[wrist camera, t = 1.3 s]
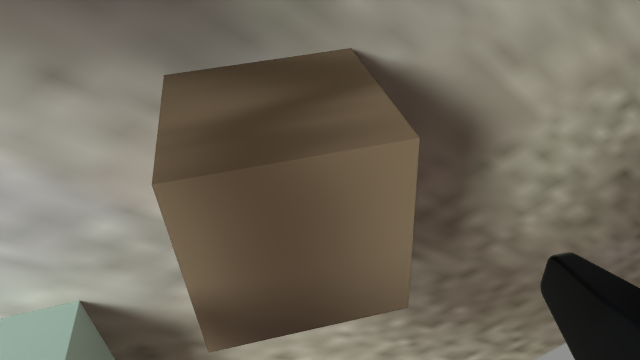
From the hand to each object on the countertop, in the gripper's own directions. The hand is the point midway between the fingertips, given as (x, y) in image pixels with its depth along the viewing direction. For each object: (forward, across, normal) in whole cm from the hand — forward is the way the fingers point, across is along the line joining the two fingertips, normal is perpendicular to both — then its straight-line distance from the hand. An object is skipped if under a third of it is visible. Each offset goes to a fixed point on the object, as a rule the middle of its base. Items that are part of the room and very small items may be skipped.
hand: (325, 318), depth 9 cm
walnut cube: (+7, 0, 0) cm, 7 cm away
